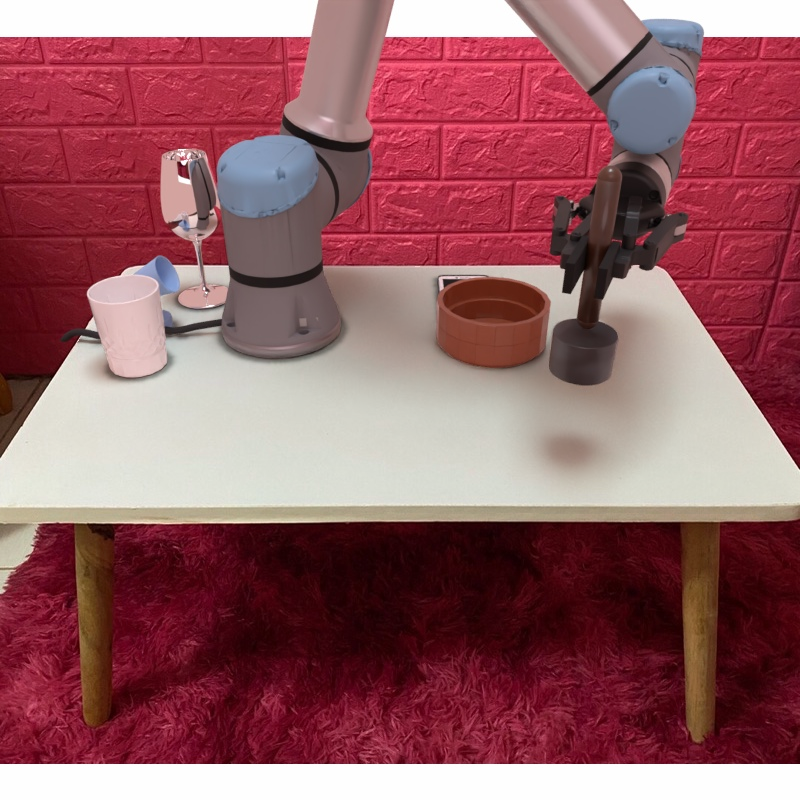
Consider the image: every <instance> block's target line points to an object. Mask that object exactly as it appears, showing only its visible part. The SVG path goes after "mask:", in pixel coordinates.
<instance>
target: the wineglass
mask: <svg viewBox="0 0 800 800" xmlns="http://www.w3.org/2000/svg"><path fill="white" fill-rule="evenodd" d="M160 163H161V164H160V186H159V187H160V189H159V192H160V193H159V194H160V195H159V197H160V209H161V213H162V218H163V220H164V222H165V224H166V226H167V228H168V229H169V230H170V231H171V232H172V233H173V234H174V235H176V236H178V237H179V238H181V239H183V240H186V241H189V242H191V243H192V244H193V247H194V250H195V254H196V259H197V265H198V266H197V267H198V272H199V280H200V283H199V285H195V286H192V287H189V288H187V289H185V290H183V291H182V292H181V293H180V294H179V295H178V296H177V300H178V301H177V302H178V303H179V304H180V305H182V306H184V307H186V308H190V309H197V310H198V309H199V310H201V309H202V310H203V309H212V308H215V307H219V306H222V305H225V301H226V296H227V291H228V286H225V285H221V284H214V283H213V284H211V283H209V284H208V282H207V280H206V273H205V266H204V259H203V252H202V247H203V246H202V244H203V241H204V240H206V239H207V238H209V237H211V236H212V235H213V234H214V233H215V232H216V231H217V230H218V227H219V226H220V225H221V222H222V216H221V209H220V202H219V199H218V196H217V181H216V180H217V179H216V177H215V174H214V171H213V168H212V166H211V164H210V160H209V158H208V155H207V153H206V151H204V150H202V149H198V148H180V149H173V150H170V151H167V152H165V153H163V154H162V155H161V162H160Z"/></svg>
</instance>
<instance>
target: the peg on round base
mask: <svg viewBox="0 0 800 800" xmlns="http://www.w3.org/2000/svg"><path fill="white" fill-rule="evenodd" d="M596 182H597V183H596ZM596 182H595V183H596V189H595V196H594V203H593V210H592V217H591V224H590V230H589V237H588V245H587V251H586V258H585V265H584V271H583V273H582V279H581V285H580V287H581V288H580V293H579V299H578V306H577V313H576V317H575V318H567V319H564V320H561V321H558V322H557V323H556V324H555V325H554V326H553V329H552V335H551V343H550V349H549V358H548V370H549V372H550V373H551V375H552V376H553V377H555V378H556V379H558V380H560V381H562V382H565V383H566V384H570V385H576V386H582V387H583V386H586V387H588V386H597V385H602V384H603V383H605V382H607V381H609V380H610V378H611V377H612V375H613V369H614V365H615V360H616V353H617V348H618V342H619V333H618V332H617V330H616V329H615V328H614V327H613V326H611V325H610V324H607V323H606V322H602V321H601V320H600V315H601V309H602V304H603V303H602V302H603V300H601V299H595V298H594V294H595V288H596V281H597V275H598V269H599V266H600V264H601V262H602V260H603V258H604V256H605V255H606V253H607V251H608V249H609V247H610V245H611V243H612V241H613V239H612V237H613V231H614V225H615V219H616V212H617V206H618V200H619V194H620V188H621V182H622V173H621V171H620V170H619V169H618V168H617V167H615V166H608V165H605V166H604V167H602V168H600V170H599V171H598V174H597V177H596Z"/></svg>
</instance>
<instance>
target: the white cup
mask: <svg viewBox="0 0 800 800" xmlns="http://www.w3.org/2000/svg"><path fill="white" fill-rule="evenodd" d="M86 296H87V300H88V303H89V307H90V310H91V314H92V317H93V320H94V323H95V327H96V332H98V334H99V336H100V339H101V340H100V343H101V346H102V347H103V351H104V352H105V356H106V359H107V363H108V367H109V369H110V370H111V372H112V373H113V374H114V375H116V376H118V377H119V376H120V377H123V378H141V377H147V376H150V375H153V374H155V373H156V372H157V373H158V372H159V371H160V370H162V369H163V368H164V367H165V366H166V365H167V364H168V351H167V345H166V341H167V337H166V334H165V327H164V319H163V312H162V310H163V306H162V299H161V296H160V290H159V284H158V282H157V281H156V280H155V279H153V278H151V277H148V276H143V275H133V274H122V275H116V276H112V277H108V278H105V279H102V280H100V281H97V282H96V283H94V284H92V285H91V286H90V287H89V288H88V290H87V291H86Z"/></svg>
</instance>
